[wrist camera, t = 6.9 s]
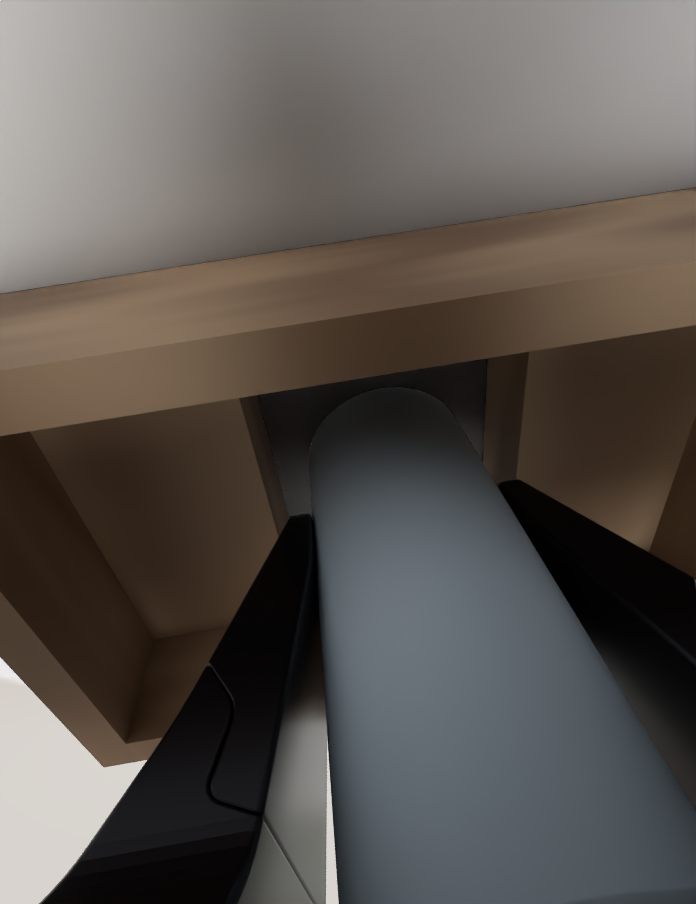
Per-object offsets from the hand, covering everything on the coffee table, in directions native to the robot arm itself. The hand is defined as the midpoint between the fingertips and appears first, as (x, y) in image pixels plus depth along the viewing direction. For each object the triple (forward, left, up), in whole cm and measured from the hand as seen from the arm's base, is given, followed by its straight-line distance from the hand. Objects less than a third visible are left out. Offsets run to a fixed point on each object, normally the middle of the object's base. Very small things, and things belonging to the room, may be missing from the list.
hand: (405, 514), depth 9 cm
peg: (0, 0, -2) cm, 2 cm away
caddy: (0, 0, -3) cm, 3 cm away
